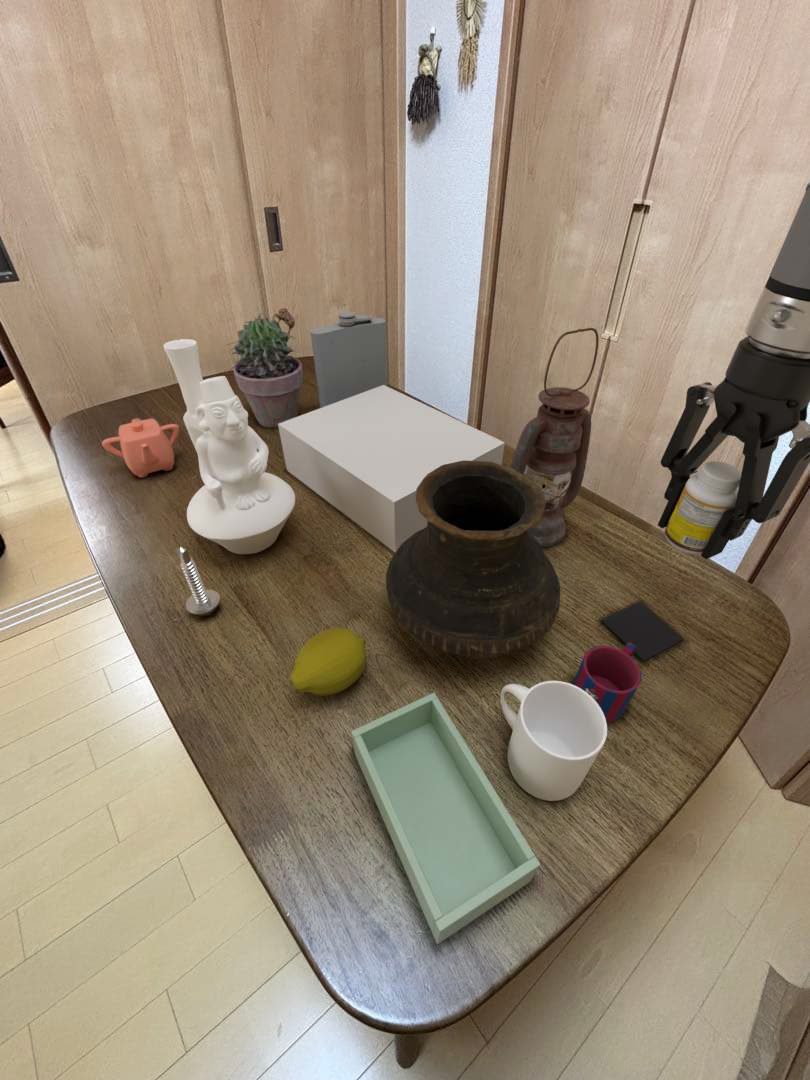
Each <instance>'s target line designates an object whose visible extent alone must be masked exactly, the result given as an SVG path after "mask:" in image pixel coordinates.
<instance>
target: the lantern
mask: <svg viewBox="0 0 810 1080" xmlns="http://www.w3.org/2000/svg"><path fill="white" fill-rule="evenodd" d="M589 331H593V332H594V334H595V349H594V356H593V362H592V364H591V368H590V372H589V374H588V376H587V378H586V380H585V382H584V383H583V384H582V385H581V386H579V387H578V388H570V387H563V386H555V387H548V388H547V380H548V375H549V370H550V366H551V364H552V363H551V362H552V359H553V356H554V354H555V352H556V349H557V347H558V344H559V343H560V341H561V340H562V339H563V338H564V337H565V336H567V335H572V334H578V333H580V332H589ZM598 349H599V333H598V331H597V329H596V328H594V327H587V328H578V329H575V330H569V331H566V332H564V333H562V334H561V335H560V336H559V338H558V339H557V340H556V341H555V343H554V346H553V348H552V349H551V353H550V355H549V359H548V362H547V364H546V370H545V374H544V380H543V389H542V390H541V391H540V392H539V393H538V396H537V397H538V400H539V401H540V403H542V404H541V405H540V406H539V408H538V409H537V415H536V417H534V418H531V420H529V421H528V422H527V424H526V425H525V426H524V428H523V429H522V431H521V434H520V436H519V438H518V441H517V444H516V447H515V450H514V454H513V457H512V461H511V463H510V466H509V468H512V469H515V470H516V471H518V472H519V473H521V474H522V475H524V476H525V477H527V478H528V479H530V480H531V481H532V480H533V482H534V483H536V484H537V485H539V486H540V488H541V489H542V491H543V493H544V496H545V501H546V505H545V509H544V513H543V516H542V520H541V522H539V523H538V524H536V525H534V526H533V527H531V528H530V529H528V531H527V532H529V533H530V534H531V535H532V536H533V537H534V538H535V539H536V540H537V541H538V543H539V544H540V546H541V548H542V549H543V548H549V547H553V546H555V545H558V544H559V543H560V542H562V540H563V539H564V538H565V536H566V535H565V534H566V532H567V524H566V522H565V518H566V512H565V510H564V509H565V508H567V507H568V506H569V505H570V504H571V503H572V502H573V501H574V500H575V499H576V497H577V495H578V494H579V492H580V489H581V487H582V484H583V480H584V476H585V471H586V466H587V460H588V453H589V448H590V440H591V434H592V433H591V432H592V416H591V413H590V411H589V410H588V409H586V408H587V407H588V406H589V405H590V402H591V401H590V400H591V399H590V397H589V396H588V395H587V394H585V393H584V392H582V391H580V390H582V389H584V388H585V387H586V385H587V384H588V382H589V381H590V380H591V378H592V374H593V372H594V368H595V366H596V360H597V357H598V351H599V350H598ZM549 477H551V478H552V479H553V480H552V479H551V478H549ZM538 478H544V479H546V480H547V483H546V484H542V483H540V482H538ZM548 486H553V487H551V488H549V487H548ZM547 487H548V488H547ZM560 489H561V490H560Z"/></svg>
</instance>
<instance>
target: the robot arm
mask: <svg viewBox="0 0 810 1080" xmlns="http://www.w3.org/2000/svg"><path fill="white" fill-rule="evenodd" d="M744 331H745V334H746V337H744V338H742V339H741V340H739V342H738V343H737V346H736V348H735V351H734V352H733V355H732V358H731V360H730V362H729V364H728V366H727V368H726V371H725V377H724V379H723V380H722V381H721V382H720V383H719V384H717V385H713V383H711V382H710V381H706V382H702V383H699V384H695V385H692V386H690V387H688V388H687V390H686V397H685V405H684V409H683V411H682V414H681V416H680V418H679V420H678V422H677V424H676V427H675V429H674V430H673V433H672V435H671V437H670V439H669V442H668V444H667V446H666V448H665V450H664V453H663V455H662V457H661V459H660V465H661V466H662V467H663V468H667V469H668V470H669V472H670V476H671V477H670V480H669V482H668V485H667V487H666V489H665V492H664V494H663V495H664V497H663V498H664V499H665V500H667V502H666V505H665V507H664V510H663V512H662V514H661V516H660V519H659V521H658V523H657V527H659V528H661V529H666V527H667V524H668V522H669V520H670V518H671V516H672V514H673V511H674V509H675V507H676V505H677V502H678V500H679V498H680V496H681V494H682V491H683V489H684V487H685V485H686V483H687V481H688V480H689V479H690V478H691V477H692V476H691V475H695V474H696V473H699V472H698V469H699V468H700V467H701V466H702V465H703V464H704V463H705V461H707V459H708V458H709V457H710V456H711V455H712V454H713V453H714V452H715V451H716V449H718V447H719V446H720V445H721V444H722V443H723V442H724V441H725V440H726V439H727V438H728V437H735V438H737V439H738V440H739V441H740V442H741V443H743V449H742V455H743V456H744V459H743V464H742V469H741V472H742V474H741V479H740V484H739V489H738V494H737V499H736V504H735V508H733V509H730V510H728V511H726V512H725V513H724V514H723V516H722V518H721V520H720V522H719V523H718V525H717V527H716V529H715V531H714V532H713V534H712V536H711V538H710V540H709V541H708V543H707V545H706V547H705V549H704V550H703V552H702V554H700V557H701V558H703V559H705V560H708V559H710V558H712V557H715V556H717V555H719V554H721V553H723V551H724V550H725V548H726V546H727V544H728V543H729V541H730V542H731V541H734V540H735V539H738V538H740V537H742V536H743V535H744V533H745V532H746V530H747V528H748V527H749V525H750V523H751V521H754V522H755V523H757V524H763V523H765V522H767V521H769V520H772V519H774V518H776V517H778V516H780V514H781V513H782V511H783V509H784V507H785V506H786V504H787V502H788V501H789V499H790V497H791V496H792V493H793V492H794V491H795V489H796V487H797V485H798V484H799V482H800V480H801V478H802V476H803V475H804V473H805V472H806V470H807V468H808V467H809V465H810V423H809V422H808V421H807V418H808V407H809V404H810V181H809V182H808V183H807V184H806V187H805V192H804V195H803V197H802V198H801V202H800V204H799V206H798V208H797V211H796V213H795V215H794V218H793V220H792V222H791V225H790V227H789V229H788V232H787V234H786V236H785V239H784V241H783V243H782V245H781V248H780V251H779V253H778V254H777V257H776V259H775V261H774V264H773V266H772V269H771V271H770V273H769V276H768V278H767V281H766V283H765V285H764V287H763V289H762V291H761V294H760V295H759V298H758V300H757V302H756V304H755V307H754V309H753V311H752V314H751V316H750V317H749V320H748V323H747V325H746V327H745V330H744ZM713 403H714V407H715V412H716V417H715V418H714V420H713V421H712V422H711V423H709V425H708V426H707V427H706V429H705V430H704V434H703V435H702V436H701V437H700V438H699V439H698V440H697V442H695V444H694V445H693V446H692V444H693V442H694V440H695V438H696V436H697V434H698V432H699V429H700V428H701V426H702V424H703V422H704V420H705V418H706V415H707V414H708V412H709V409H710V406H711V405H712V404H713ZM789 432H791V433H792V439H790V442H789V444H788V447H789V448H790V450H789V451H788V452H787V453H786V454H785V455H784V458H783V459H782V461H781V463H780V464H779V466H778V468H777V470H776V472H775V473H774V476H773V477H772V479H771V481H770V483H769V485H768V486H767V488H766V485H767V480H768V476H769V471H770V467H771V462H772V458H773V454H774V452H775V451H776V449H777V447H778V443H779V439H780V437H781V436H783V435H785V434H787V433H789ZM691 446H692V447H691ZM690 448H691V449H690ZM765 489H766V490H765Z"/></svg>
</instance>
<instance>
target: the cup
mask: <svg viewBox="0 0 810 1080" xmlns="http://www.w3.org/2000/svg"><path fill="white" fill-rule="evenodd" d="M635 649H636V646H635V645H634V644H633V643H630V642H629V643H627V644H626V645H625V644H624V646H623V647H622V649H619V648H617V647H613V646H609V645H597V646H593V647H592V648H591V647H590V648H589V649H588V650H587V651H586V652H585V653H584V655H583V657H582V661H581V663H580V664H579V668H578V670H577V672H576V675H575V677H574V680H573V682H572V683H571V684H572V685H575V686H577V687H579V688H581V689H582V690H584V691H585V692H586V693H588V694H589V695H590V696H591V697H592V698H593V699H594V700H595V701H596V702H597V703H598V705H599V706H600V708H601V710H602V712H603V713H604V716H605V719H606V723H607V724H608V723H613V722H615V721H617V720H619V719H620V718H621V717H622V716H623V714H624V713H625V711H626V709H627V708H628V706H629V704H630V702H631V700H632V699H633V697H634V695H635V693H636V692H637V690H638V689H639V686H640V685H641V684H642V683H641V682H642V670H641V668H640V666H639V664H638V663H637V662H636V661H635V660H634V658H633V655H634V652H635Z"/></svg>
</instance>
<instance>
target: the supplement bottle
mask: <svg viewBox="0 0 810 1080" xmlns="http://www.w3.org/2000/svg"><path fill="white" fill-rule="evenodd" d="M741 474H742V470H741V469H739V468H738V467H736V466H734V465H732V464H730V463H728V462H723V461H716V460H715V461H713V460H712V461H707V462H704V463H703V464H702V467H701V469H700V470H699V472H698V474H693V475H692V476H690V477H691V478H690V479H689V480H688V481H687V483H686V485H685V487H684V489H683V491H682V494H681V496H680V498H679V500H678V502H677V505H676V507H675V509H674V511H673V514H672V516H671V518H670V520H669V522H668V524H667V527H665V528H664V537H665V540H666V541H667V542H668V543H669V544H670V545H671V547H673V548H675V549H676V550H678V551H681V552H683V553H686V554H692V555H701V554H702V552H703V550H704V549H705V547H706V545H707V543H708V541H709V540H710V538H711V536H712V534H713V532H714V531H715V529H716V527H717V525H718V523H719V522H720V520H721V518H722V516H723V514H724V513H725V512H726V511H728V510H730V509H733V508H735V504H736V499H737V494H738V489H739V484H740V479H741Z"/></svg>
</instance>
